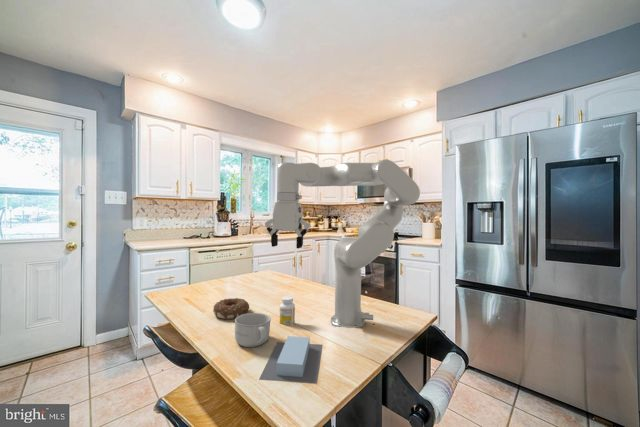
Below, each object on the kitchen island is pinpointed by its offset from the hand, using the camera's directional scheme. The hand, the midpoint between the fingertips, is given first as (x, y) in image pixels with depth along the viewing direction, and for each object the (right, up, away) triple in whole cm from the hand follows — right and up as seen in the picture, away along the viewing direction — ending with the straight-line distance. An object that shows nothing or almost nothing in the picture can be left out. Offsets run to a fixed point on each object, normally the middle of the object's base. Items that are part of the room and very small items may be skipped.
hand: (286, 247), depth 93 cm
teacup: (-9, -29, -12) cm, 33 cm away
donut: (-23, -29, +12) cm, 39 cm away
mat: (+5, -29, -21) cm, 36 cm away
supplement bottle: (0, -29, +3) cm, 29 cm away
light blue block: (+5, -28, -21) cm, 35 cm away
